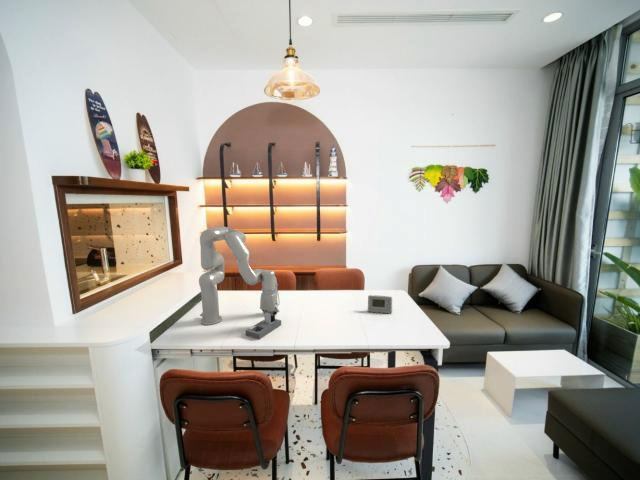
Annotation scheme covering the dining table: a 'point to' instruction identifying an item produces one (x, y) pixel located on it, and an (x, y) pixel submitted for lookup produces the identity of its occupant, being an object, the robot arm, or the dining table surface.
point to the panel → (262, 329)
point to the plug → (268, 317)
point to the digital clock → (379, 304)
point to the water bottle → (276, 290)
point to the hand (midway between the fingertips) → (269, 320)
